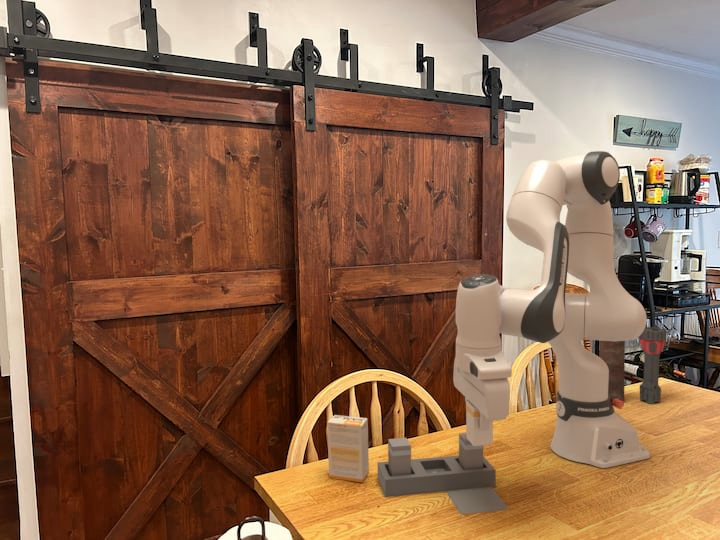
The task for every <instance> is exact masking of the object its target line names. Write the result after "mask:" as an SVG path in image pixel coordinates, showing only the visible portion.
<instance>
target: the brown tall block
mask: <svg viewBox="0 0 720 540" xmlns="http://www.w3.org/2000/svg"><path fill="white" fill-rule="evenodd" d="M598 342H599V344H598V351H599V352H598V354H599V355H598V357H600V358H601V359H602V360H604V362H605V363H606V364H607V366H608V369H609V381H608V396H610V397H612V398H613V400H614V399H619V400H620V401H623V403H625V358H626V357H625V356H626V355H625V354H626V353H625V350H626V347H625V345H626V343H625V341H616V342H613V341H600V340H598Z"/></svg>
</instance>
